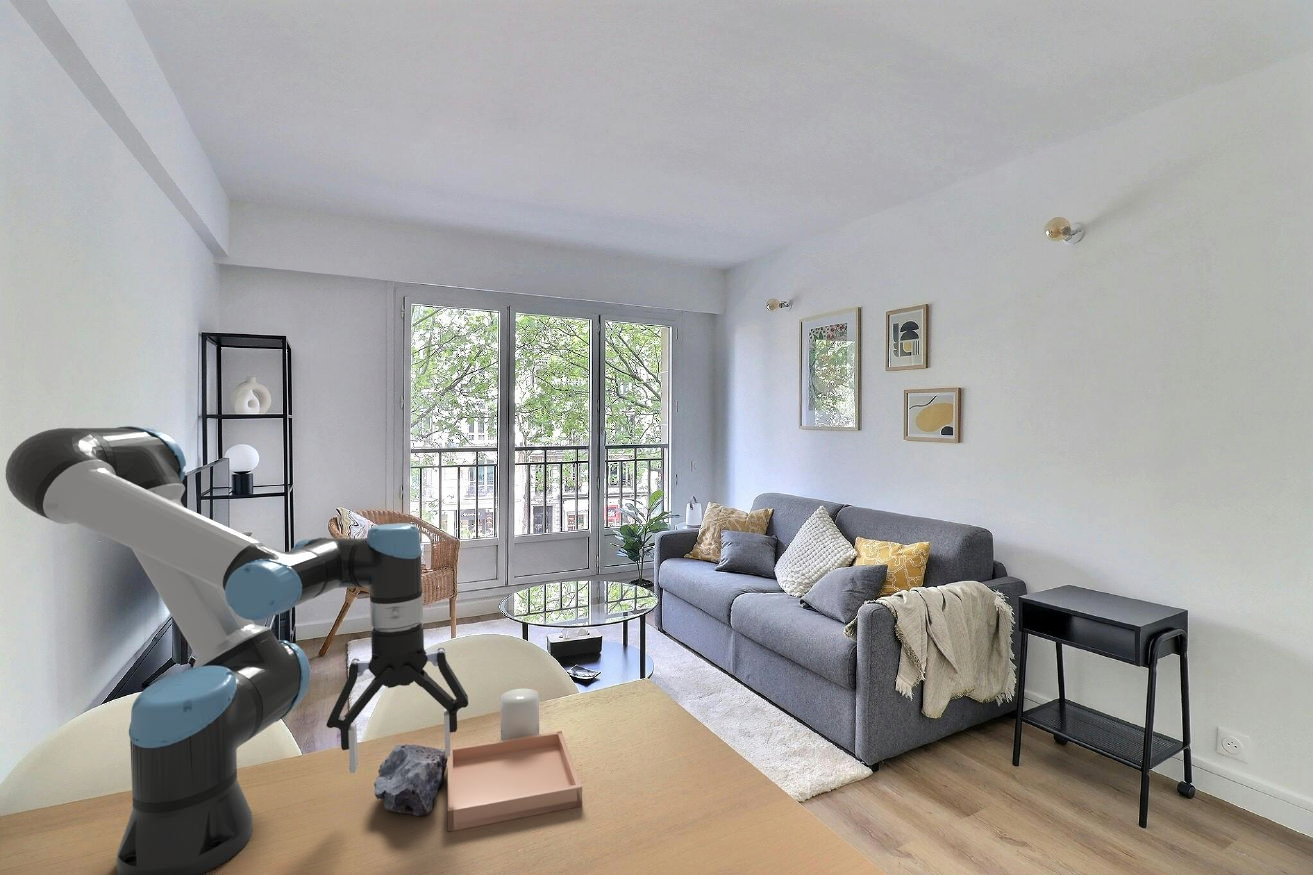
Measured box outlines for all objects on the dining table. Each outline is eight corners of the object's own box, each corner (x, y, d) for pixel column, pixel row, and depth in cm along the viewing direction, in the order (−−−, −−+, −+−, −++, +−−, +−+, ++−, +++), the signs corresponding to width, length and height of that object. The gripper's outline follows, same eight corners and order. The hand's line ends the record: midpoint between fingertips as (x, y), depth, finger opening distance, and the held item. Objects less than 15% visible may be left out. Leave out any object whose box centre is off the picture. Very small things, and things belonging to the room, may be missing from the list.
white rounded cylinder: (502, 750, 115) (502, 706, 115) (499, 732, 122) (499, 691, 121) (541, 744, 117) (541, 701, 117) (536, 727, 124) (536, 686, 124)
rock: (435, 816, 93) (444, 740, 97) (361, 820, 91) (373, 742, 95) (443, 810, 105) (450, 743, 110) (377, 813, 103) (387, 745, 107)
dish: (448, 831, 92) (447, 811, 92) (447, 765, 110) (447, 748, 110) (582, 805, 98) (582, 786, 98) (561, 747, 116) (561, 731, 116)
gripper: (301, 642, 92) (307, 788, 92) (482, 622, 99) (486, 757, 100) (312, 627, 99) (317, 762, 99) (479, 609, 107) (483, 735, 107)
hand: (401, 760), depth 100 cm, fingers open, 13 cm apart
